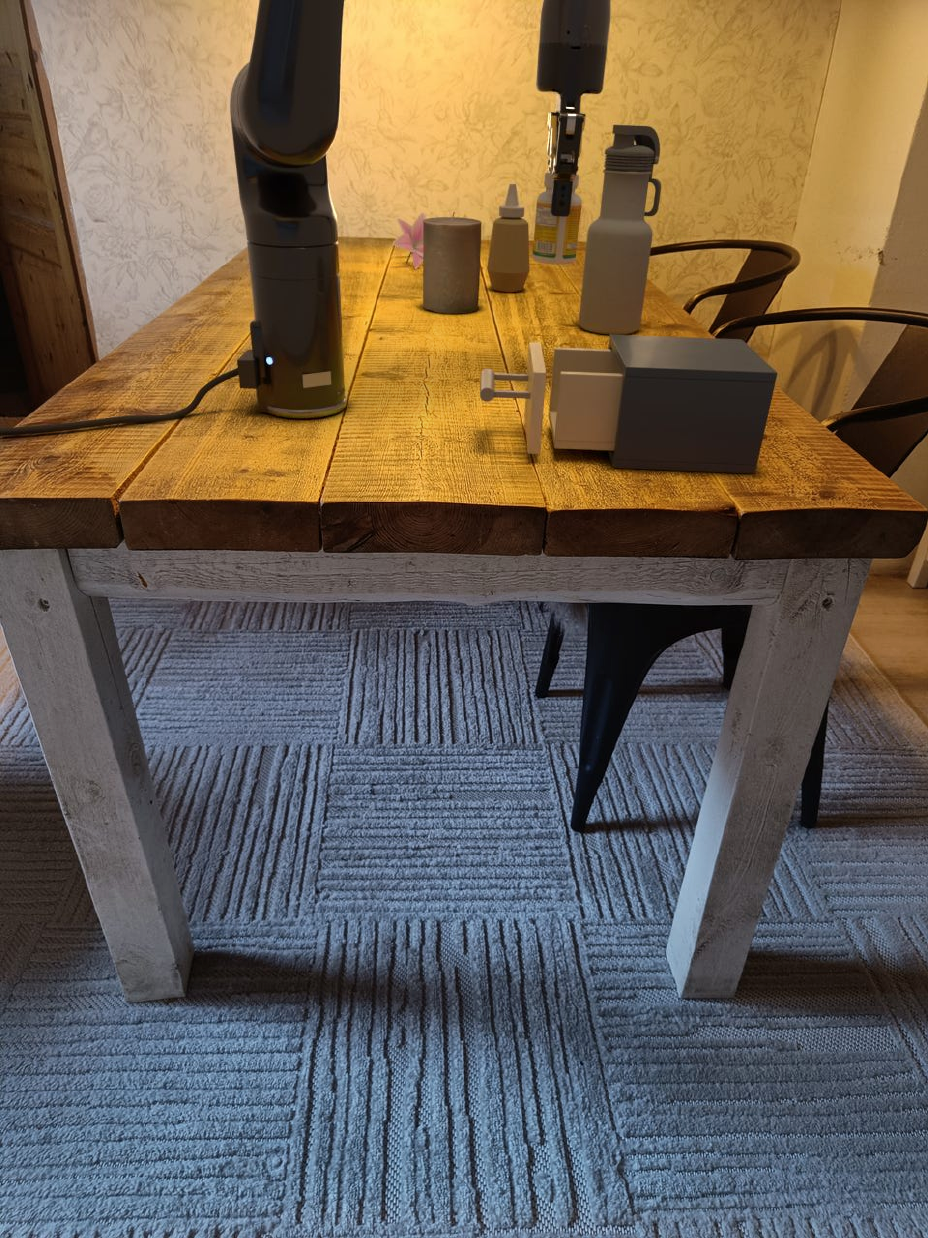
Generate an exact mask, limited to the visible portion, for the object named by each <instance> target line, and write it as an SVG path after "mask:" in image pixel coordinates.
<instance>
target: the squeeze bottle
mask: <svg viewBox="0 0 928 1238" xmlns="http://www.w3.org/2000/svg"><path fill="white" fill-rule="evenodd" d="M498 216H499V217H498V218H495V219H494V220H493V221H492V229H491V237H490V243H489V251H488V257H487V258H488V259H487V265H486V266H487V267H486V270H487V274H488V277H489V282H490V286H491V289H492V290H494V291H496V292H501V293H515V292H516V293H517V292H521V291H522V290H523V289H524V287H525V284H526V282H527V279H528V276H529V273H530V237H529V234H530V233H529V231H530V230H529V222H528V221H527V220H526V219H524V218H523V217H524V216H525V207H524V206H522V205H520V204H519V195H518V188H517V183H509V184H508V189H507V194H506V197H505V201H504V204H502V205H498Z"/></svg>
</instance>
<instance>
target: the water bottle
mask: <svg viewBox="0 0 928 1238" xmlns="http://www.w3.org/2000/svg"><path fill="white" fill-rule="evenodd" d="M611 134H612V135H613V136H614V137H613V142H612V145H610V146H608V147H607V148H606V149H605V150H604V155H605V158H604V165H603V167H604V169H603V170H602V172H603V173H604V175H603V183H602V193H601V203H600V210H599V211H600V212H599V217H598V218H597V219H595V220H593V221H592V222H591V223H590V225H589V227H588V228H587V233H586V242H585V243H586V244H585V253H584V265H583V272H582V273H583V274H582V283H581V291H580V293H581V294H580V303H579V304H580V305H579V313H578V325H579V327H580V328H582V329H583V330H584V331H587V332H590V333H594V334H598V335H599V334H600V335H609V336H610V335H630V334H633V333H635V332H637V331H638V330H639V329H640V327H641V323H642V316H643V315H642V314H643V309H644V300H645V293H646V287H647V280H648V272H649V265H650V258H651V257H650V256H651V252H652V251H651V250H652V244H653V229H652V227H651V225H650V224H649V223H648V222H647V221H646V220H645V217H655V215H657V213H658V211H659V208H660V200H661V192H662V183H661V181H660V179H658V178H654V177H653V173H654V166H655V165H658V164H659V162H660V155H661V142H660V137H659V134H658V132H657V131H656V129H655V128H653V127H652V126H650V125H636V124H612V133H611ZM649 183H651V184H652V185H653V186H654V198H653V205H652V208H651V209H650V210H649V211H646V204H647V198H648V188H649Z"/></svg>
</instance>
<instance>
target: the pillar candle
mask: <svg viewBox="0 0 928 1238" xmlns="http://www.w3.org/2000/svg"><path fill="white" fill-rule="evenodd" d="M455 213H456V212H455V211H453V212H452V216H437V217H429V218H426V219H424V220H423V261H422V308H423V309H424V310H428V311H432V312H434V313H438V314H445V315H446V314H449V315H450V314H451V315H459V314H467V313H473V312H476V311H479V309H480V308H479V301H480V300H479V299H480V298H479V297H480V284H481V283H480V280H481V279H480V278H481V255H482V224H483V223H482V222H483V221H481V220H480V219H475V218H469V217H458V216H457V217H455Z"/></svg>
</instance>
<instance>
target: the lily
mask: <svg viewBox="0 0 928 1238" xmlns="http://www.w3.org/2000/svg"><path fill="white" fill-rule="evenodd" d="M424 219H427V215H426V214H425V213H424V212H421V213H420V214H419V215H418V216H417V217H416V219H415V220H414V222H413V224H412V225H411V224H409V223H408V222H407V221H405V220H403V219H401V218H397V219H396V220H397V223H398V224H399V227H400V230H401V231H402V234H401V235H399V236H397V238H395V239H394V241H393V242H392V245H393V246H394V247H397V248H399V249H403V250H405V251H408V252H409V253H408V256H407V259H406V261H405V264H408V262H409V260H410V257H411V260H412V264H413V268H414V270H418V269H419V267H420V265H421V264H422V263H423V220H424Z"/></svg>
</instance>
